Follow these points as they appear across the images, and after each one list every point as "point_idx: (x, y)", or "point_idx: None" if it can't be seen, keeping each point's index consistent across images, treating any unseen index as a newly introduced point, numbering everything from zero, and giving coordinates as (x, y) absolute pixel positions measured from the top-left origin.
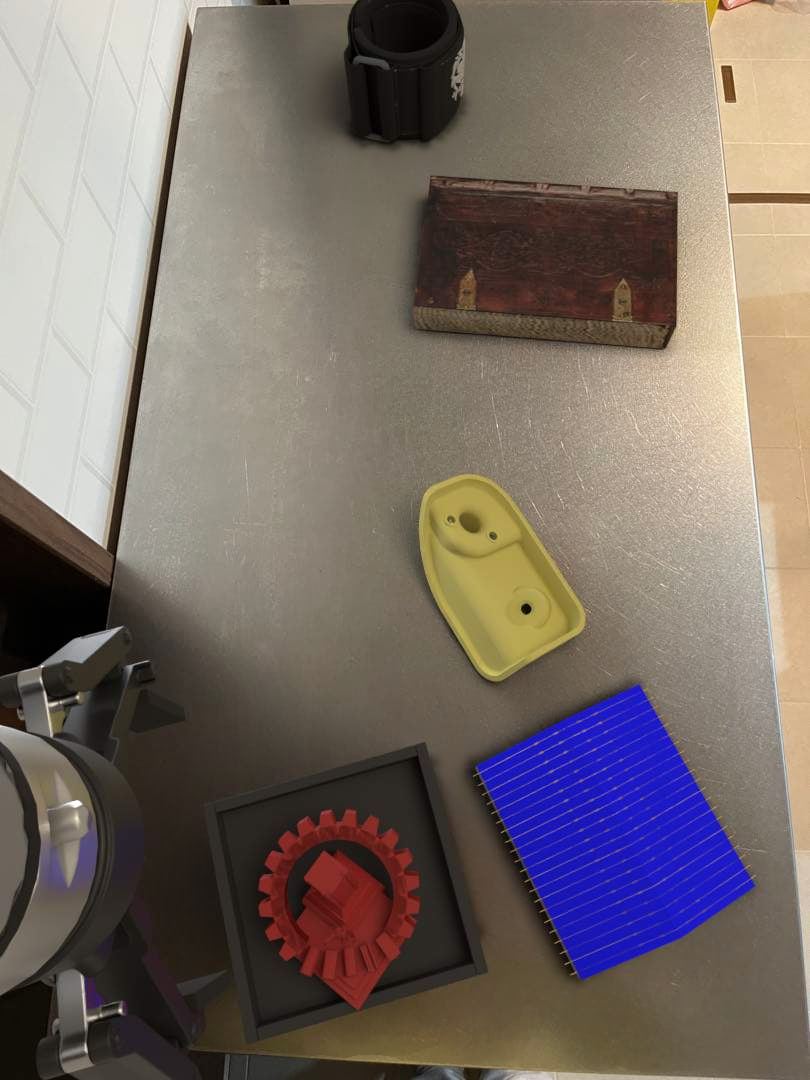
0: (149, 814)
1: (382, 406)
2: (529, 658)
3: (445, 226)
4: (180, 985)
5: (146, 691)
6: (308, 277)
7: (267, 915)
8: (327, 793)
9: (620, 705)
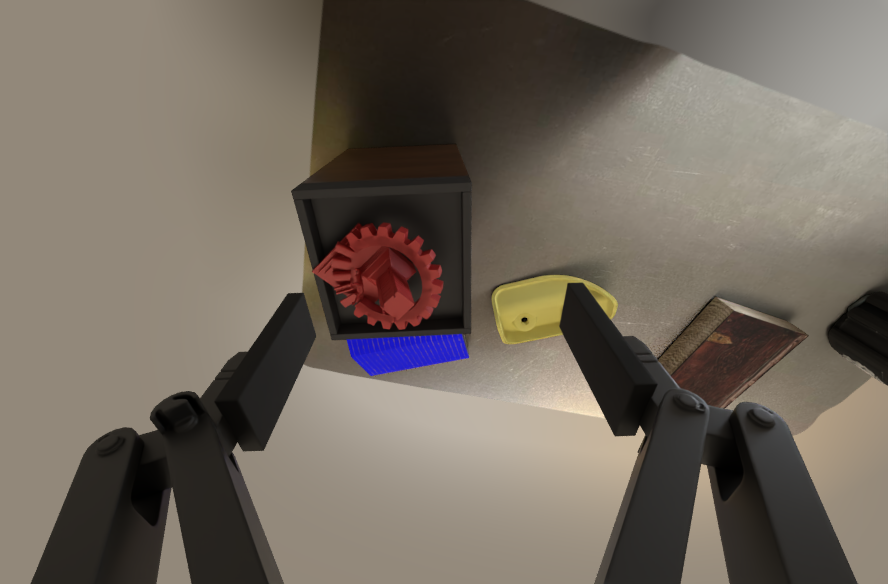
0: (476, 49)
1: (679, 268)
2: (498, 324)
3: (769, 336)
4: (297, 318)
5: (631, 434)
6: (799, 241)
7: (378, 232)
8: (455, 262)
9: (461, 351)
